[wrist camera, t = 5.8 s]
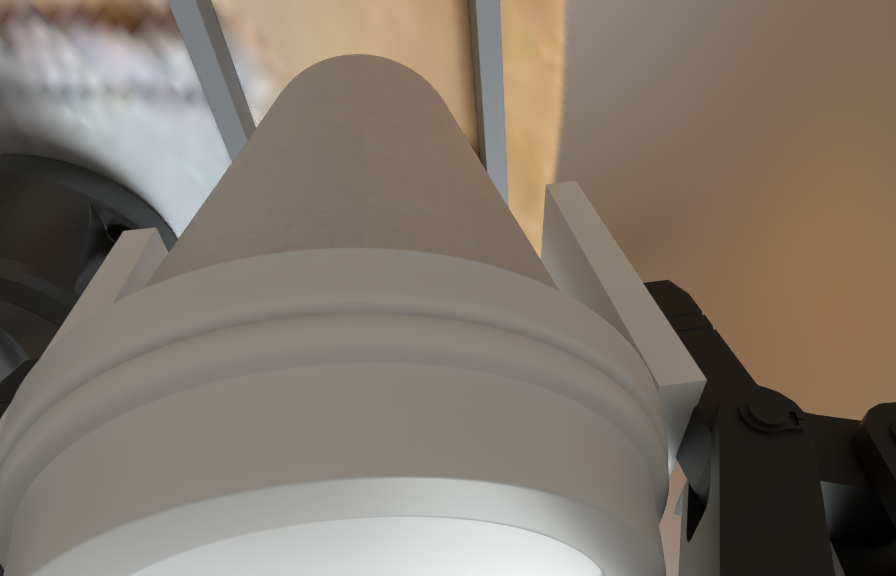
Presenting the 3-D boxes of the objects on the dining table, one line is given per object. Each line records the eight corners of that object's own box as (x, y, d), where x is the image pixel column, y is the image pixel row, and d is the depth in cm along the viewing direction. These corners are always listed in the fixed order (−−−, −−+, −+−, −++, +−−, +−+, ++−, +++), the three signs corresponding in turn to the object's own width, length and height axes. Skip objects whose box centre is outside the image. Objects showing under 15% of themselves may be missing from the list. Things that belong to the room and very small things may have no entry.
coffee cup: (150, 111, 17) (-346, 682, 5) (405, -76, 14) (563, 177, 3) (338, 300, 22) (308, 776, 11) (543, 186, 20) (785, 631, 8)
